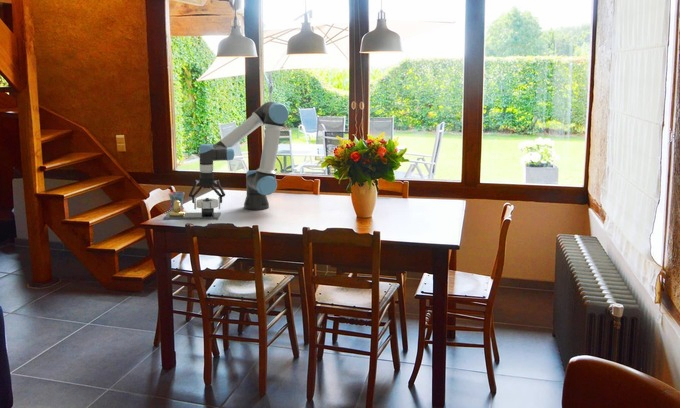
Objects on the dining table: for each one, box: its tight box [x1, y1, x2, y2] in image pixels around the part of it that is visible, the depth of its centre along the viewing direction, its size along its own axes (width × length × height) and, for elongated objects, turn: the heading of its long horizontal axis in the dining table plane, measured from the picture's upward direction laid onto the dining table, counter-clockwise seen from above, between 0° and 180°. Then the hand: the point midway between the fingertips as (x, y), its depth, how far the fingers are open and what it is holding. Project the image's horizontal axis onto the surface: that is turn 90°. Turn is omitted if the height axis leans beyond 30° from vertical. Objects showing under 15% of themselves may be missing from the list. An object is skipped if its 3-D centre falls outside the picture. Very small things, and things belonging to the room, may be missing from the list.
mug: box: [167, 191, 186, 211], centre depth 401 cm, size 12×9×11 cm
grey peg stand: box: [163, 197, 222, 221], centre depth 382 cm, size 30×13×11 cm, turn 94°
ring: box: [196, 198, 219, 209], centre depth 382 cm, size 12×12×4 cm
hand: (207, 208), depth 383 cm, fingers open, 13 cm apart
